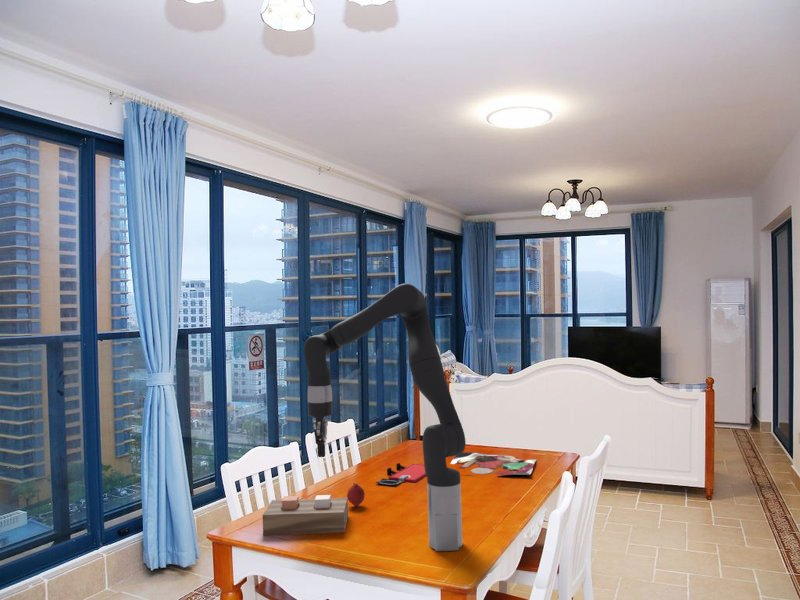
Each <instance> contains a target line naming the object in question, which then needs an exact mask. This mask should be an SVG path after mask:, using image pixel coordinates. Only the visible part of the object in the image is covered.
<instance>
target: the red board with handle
mask: <svg viewBox="0 0 800 600" xmlns="http://www.w3.org/2000/svg"><path fill="white" fill-rule="evenodd" d="M395 468H396V471H395V470H393V469H392V467H388V468H386V475H387V476H388V478H381V479H380V480H378V481H376V482H375V483H376V484H380V485H381V484H382V485H390V486H397V485H398V484H401V483H413V484H414V483H418V482H419V481H420V480H423V478H425V477H427V476H426V472H425V468H424V465H423V464H415V463H412V464H410V465H408V466H404V465H401V463H400V462H397V463H396V467H395ZM399 469H400V470H399Z"/></svg>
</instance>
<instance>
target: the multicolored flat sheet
mask: <svg viewBox="0 0 800 600" xmlns="http://www.w3.org/2000/svg"><path fill="white" fill-rule="evenodd" d="M536 462H537V459H521V458H519V457H516V456H513V455H505V454H485V453H480V452H475V451H473V452H472V451H471V452H468V451H467V452H462V453H461V454H459V455H456V456H454V457H453V459H452V460H451V462H450V465H460V466H458V469H463V470H464V469H468V468H470V467H472V466H473V465H475V464H476V465H475V466H477V467H475V468H472V469H471V470H469V472H470V473H471V474H472V475H471V474H469V476H472V477H473V476H474V475H491V474H493V475H496V476H495V478H497V477H499V475H500V477H501V476H502V477H504V476H509V475H510V476H511V475H524V476H525V475H527V476H530V475H531V474H532V473H533V469H534V467H535V463H536ZM499 468H502V470H496V469H499ZM473 474H474V475H473Z"/></svg>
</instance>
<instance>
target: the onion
mask: <svg viewBox="0 0 800 600" xmlns="http://www.w3.org/2000/svg"><path fill="white" fill-rule="evenodd" d="M365 494H366V493H365V490H364V489H363V488H362V487H361V485H359V484H358V483H357V482H354V483H353V485H352V486H350V488H349V489H348V490H347V494H346V496H347V497H346V498H348V503H350V504H351V505H353V506H354V508H355V507H356V508H357V507H359V505H361V504H362V503H363V502H364V500H365V496H366V495H365Z"/></svg>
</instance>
